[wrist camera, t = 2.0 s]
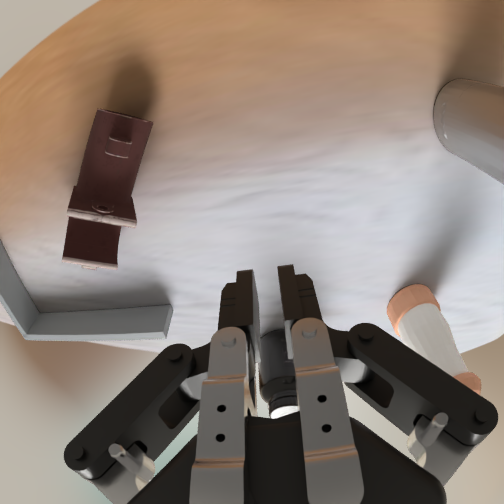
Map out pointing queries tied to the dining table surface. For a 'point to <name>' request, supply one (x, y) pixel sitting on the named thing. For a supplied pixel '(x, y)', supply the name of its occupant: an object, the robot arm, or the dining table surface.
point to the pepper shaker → (428, 332)
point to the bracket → (105, 190)
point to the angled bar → (77, 316)
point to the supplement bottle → (277, 375)
